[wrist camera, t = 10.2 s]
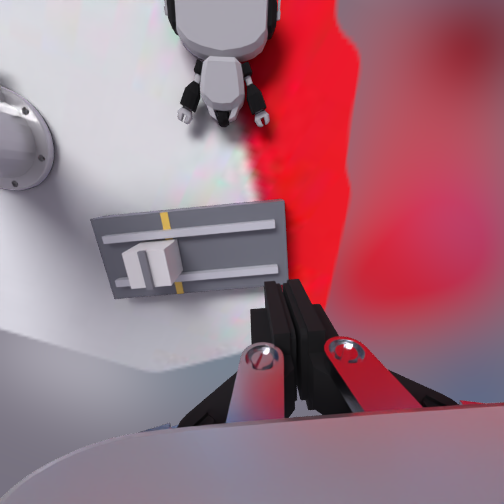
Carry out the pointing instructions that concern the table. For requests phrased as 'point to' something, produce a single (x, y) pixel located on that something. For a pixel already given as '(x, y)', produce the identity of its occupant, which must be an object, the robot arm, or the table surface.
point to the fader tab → (153, 264)
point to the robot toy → (223, 53)
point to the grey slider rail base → (201, 246)
